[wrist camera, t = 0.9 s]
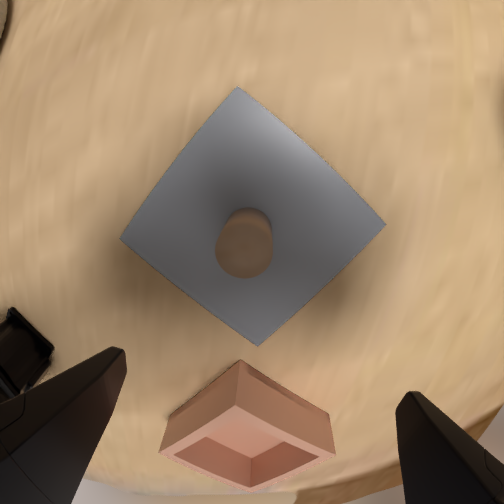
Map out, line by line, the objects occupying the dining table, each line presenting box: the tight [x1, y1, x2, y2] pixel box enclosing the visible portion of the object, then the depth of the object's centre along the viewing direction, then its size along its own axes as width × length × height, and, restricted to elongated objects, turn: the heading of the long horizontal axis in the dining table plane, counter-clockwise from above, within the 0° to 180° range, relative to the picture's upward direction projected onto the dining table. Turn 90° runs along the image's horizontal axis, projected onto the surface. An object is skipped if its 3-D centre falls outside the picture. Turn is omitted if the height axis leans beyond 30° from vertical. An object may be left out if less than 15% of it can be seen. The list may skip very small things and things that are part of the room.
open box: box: [158, 360, 336, 493], centre depth 24 cm, size 11×11×5 cm
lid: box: [120, 86, 386, 347], centre depth 18 cm, size 13×13×5 cm
